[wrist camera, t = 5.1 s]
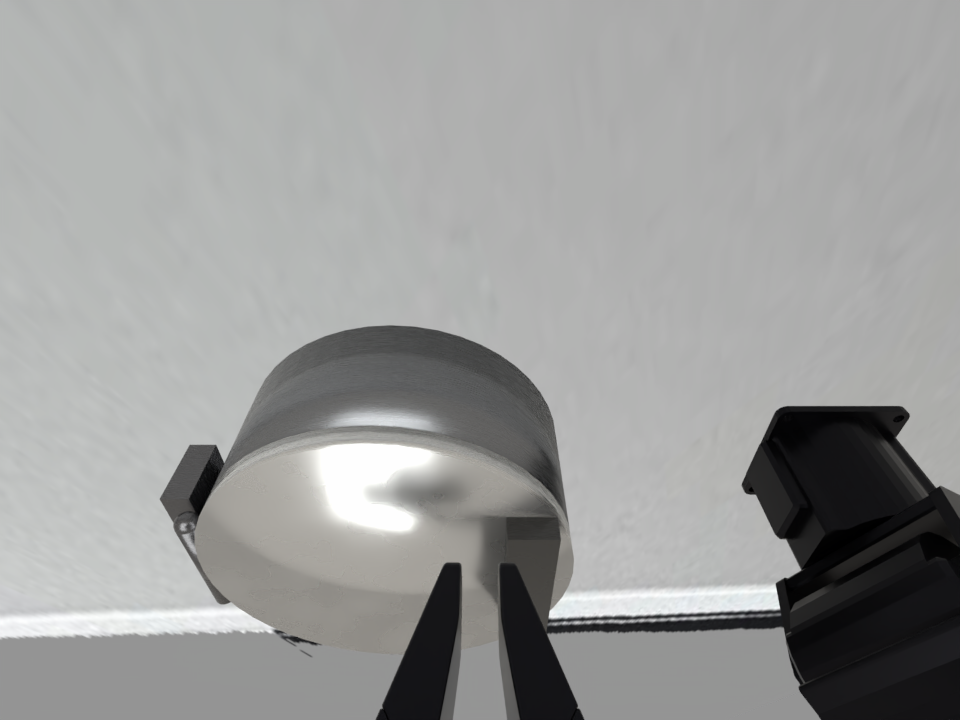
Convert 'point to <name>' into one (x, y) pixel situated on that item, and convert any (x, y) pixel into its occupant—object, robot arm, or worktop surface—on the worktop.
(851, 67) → the worktop surface
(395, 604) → the lid
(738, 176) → the worktop surface
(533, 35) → the worktop surface
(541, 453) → the pot
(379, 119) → the worktop surface
